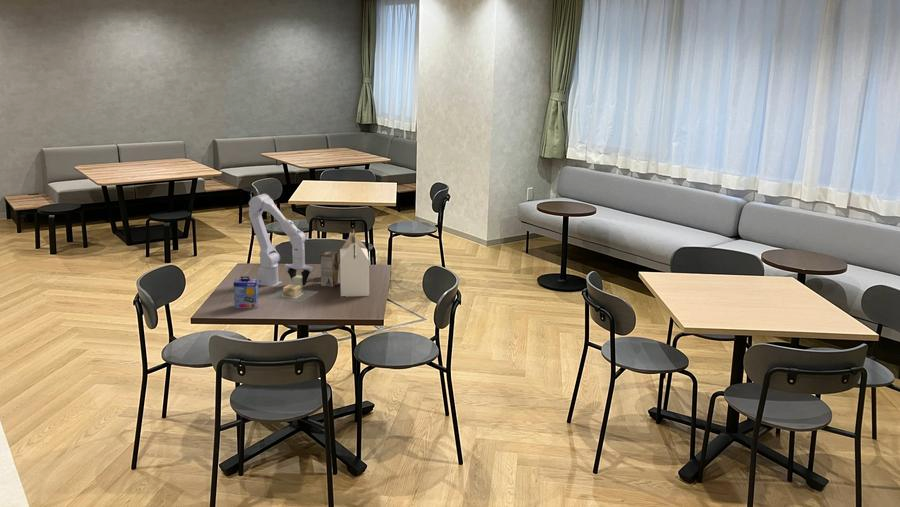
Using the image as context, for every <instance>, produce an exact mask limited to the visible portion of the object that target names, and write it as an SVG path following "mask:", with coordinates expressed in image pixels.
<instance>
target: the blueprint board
mask: <svg viewBox="0 0 900 507" xmlns="http://www.w3.org/2000/svg"><path fill="white" fill-rule="evenodd" d="M318 293H319V291H317V290H309V289H301V294H300V295H298V296H297V297H288V296H283V288H282V289H280V290H278V291H276V292H274V293H272V294H271V295H268V296H267V297H265V299H267V300H268V299H269V300H273V301H274V300H275V301H282V302H283V301H284V302H291V303H299V304H301V303H302V302H304V301H306V300H308V299H309V298H311V297H312V296H315V295H316V294H318Z"/></svg>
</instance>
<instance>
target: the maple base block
mask: <svg viewBox="0 0 900 507" xmlns="http://www.w3.org/2000/svg"><path fill="white" fill-rule="evenodd" d="M282 289H283V296H288V297H297V296H298V295H300V294H301V290H302V288H301V286H300V285H292V283H291V284H287V285H286V286H283V288H282Z"/></svg>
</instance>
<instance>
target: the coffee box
mask: <svg viewBox="0 0 900 507" xmlns="http://www.w3.org/2000/svg"><path fill="white" fill-rule="evenodd" d="M319 259H320V286H322V287H332V288H333V287H336V286H337V285H338V284H339V283H340V251H337V250H335V251H334V250H326V251H324V252H323V253H322V254H320V258H319ZM335 285H336V286H335Z"/></svg>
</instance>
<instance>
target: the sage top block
mask: <svg viewBox="0 0 900 507" xmlns="http://www.w3.org/2000/svg"><path fill="white" fill-rule="evenodd" d="M291 284H292V285H300V286H301V289H302V288H304V287H306V286H307V284H308V283H306V285H303V279H302V275H298V274H296V276H295V277H293V278H292V280H291Z"/></svg>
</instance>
